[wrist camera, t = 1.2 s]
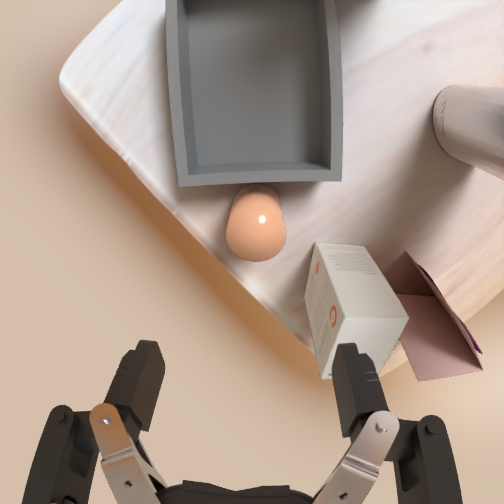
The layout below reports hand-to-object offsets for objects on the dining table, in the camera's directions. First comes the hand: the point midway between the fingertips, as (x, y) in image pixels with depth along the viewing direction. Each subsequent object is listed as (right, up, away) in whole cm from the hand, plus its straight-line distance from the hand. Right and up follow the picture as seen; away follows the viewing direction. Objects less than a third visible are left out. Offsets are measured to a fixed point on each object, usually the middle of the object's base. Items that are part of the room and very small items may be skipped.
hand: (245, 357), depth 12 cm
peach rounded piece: (+1, +9, +18) cm, 20 cm away
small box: (+10, +2, +22) cm, 24 cm away
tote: (+1, +22, +11) cm, 24 cm away
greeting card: (+22, 0, +23) cm, 32 cm away
